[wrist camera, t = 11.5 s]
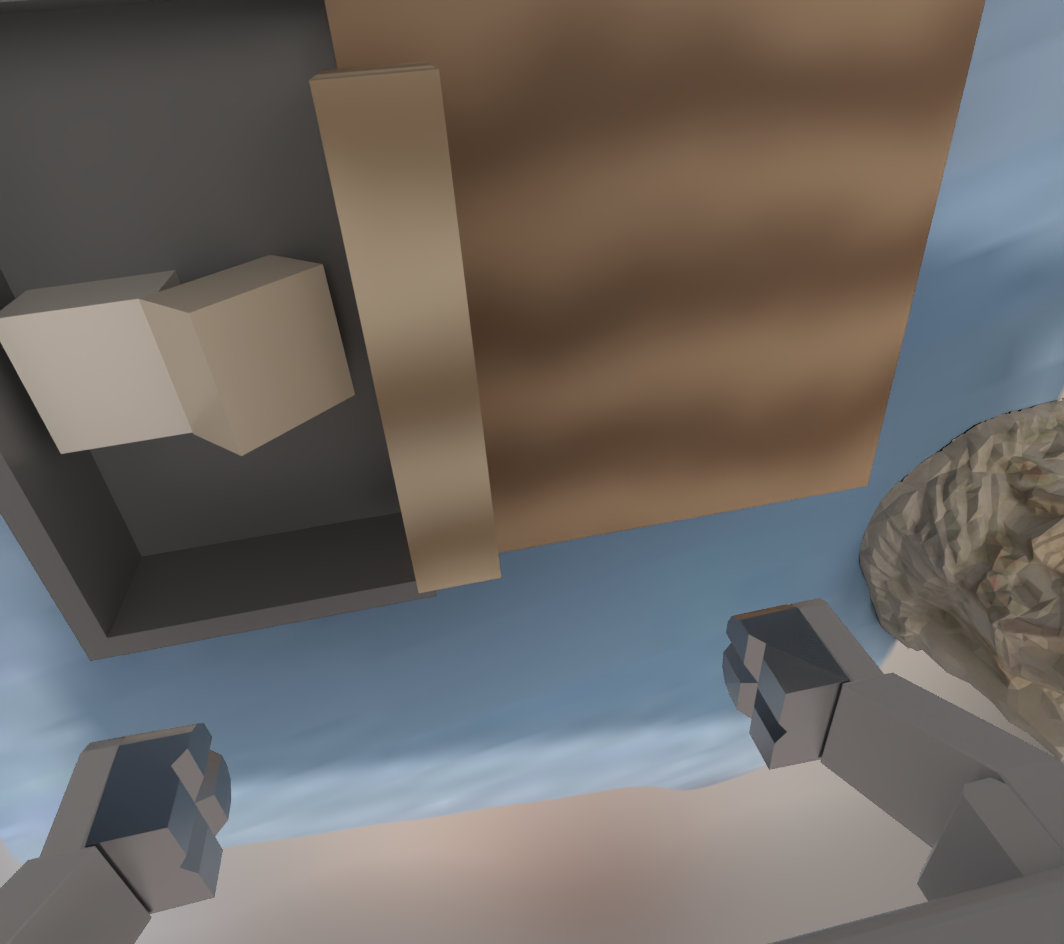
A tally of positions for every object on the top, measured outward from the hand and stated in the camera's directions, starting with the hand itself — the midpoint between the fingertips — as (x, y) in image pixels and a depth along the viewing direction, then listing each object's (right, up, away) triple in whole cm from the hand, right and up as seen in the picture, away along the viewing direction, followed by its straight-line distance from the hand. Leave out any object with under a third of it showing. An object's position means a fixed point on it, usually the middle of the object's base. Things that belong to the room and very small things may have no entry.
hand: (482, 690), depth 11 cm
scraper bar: (-3, +9, +14) cm, 17 cm away
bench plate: (+5, +12, +18) cm, 23 cm away
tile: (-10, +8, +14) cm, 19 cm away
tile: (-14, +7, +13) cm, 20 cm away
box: (-12, +10, +16) cm, 22 cm away
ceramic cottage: (+28, 0, +32) cm, 43 cm away
